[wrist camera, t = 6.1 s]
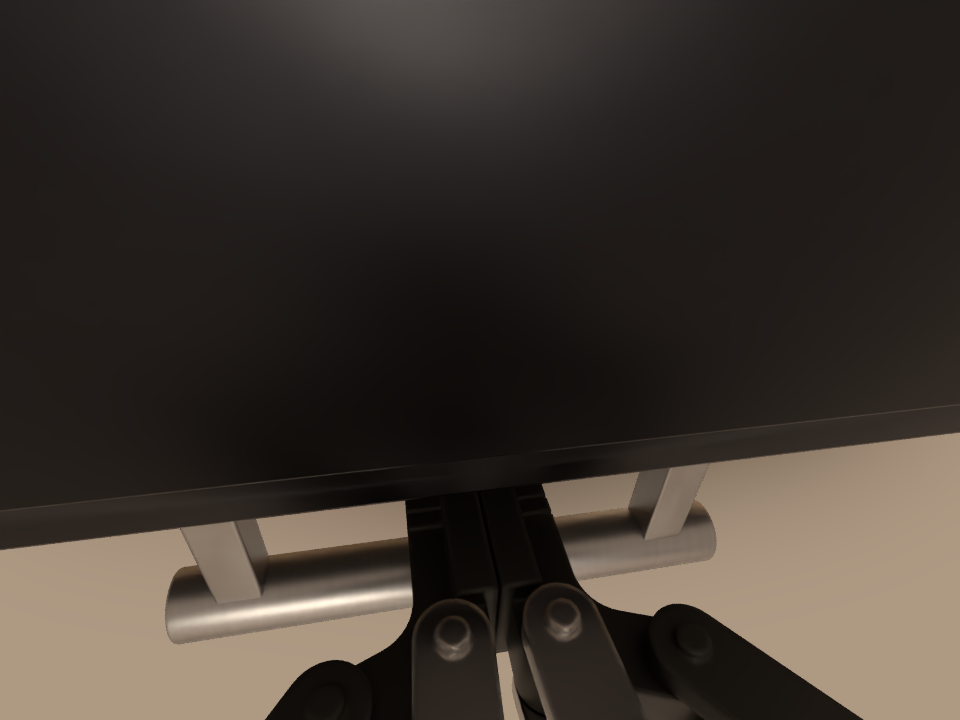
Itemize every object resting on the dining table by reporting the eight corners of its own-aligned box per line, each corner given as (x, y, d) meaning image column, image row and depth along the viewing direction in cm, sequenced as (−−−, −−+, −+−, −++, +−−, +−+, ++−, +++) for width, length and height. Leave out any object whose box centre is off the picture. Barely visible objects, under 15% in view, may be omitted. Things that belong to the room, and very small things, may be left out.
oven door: (163, 380, 19) (-35, 755, 10) (91, 204, 15) (-356, 538, 6) (646, 343, 23) (852, 594, 13) (687, 191, 19) (1022, 390, 9)
